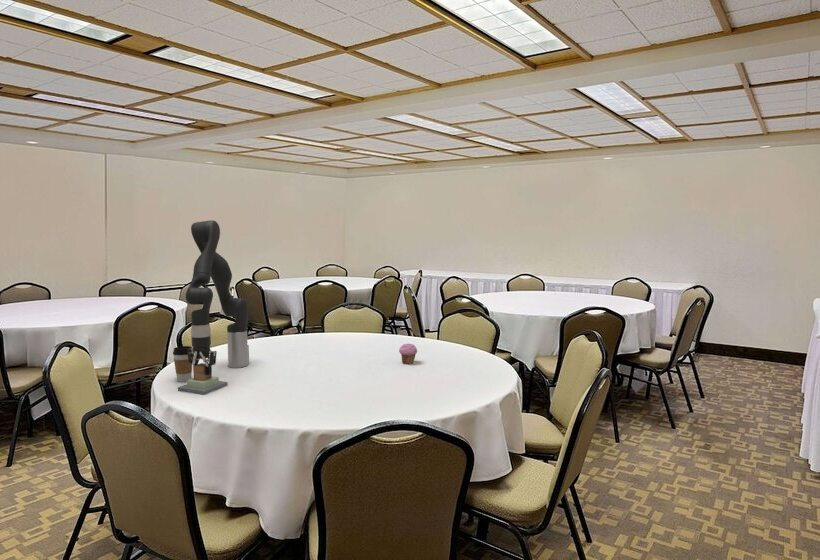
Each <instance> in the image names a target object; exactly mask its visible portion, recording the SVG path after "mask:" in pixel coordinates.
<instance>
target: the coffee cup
mask: <svg viewBox="0 0 820 560" xmlns="http://www.w3.org/2000/svg"><path fill="white" fill-rule="evenodd" d="M191 348H193V347H192V346H190V345H189V346H188V345H183V346H177V347H174V348H173V351H172V355H173V361H174V369H175V376H176V382H178V383H187V380H190V379H192V378H193V376H192V373H193V365H192V363H189V360H188V354H187V350H188V349H191ZM191 360H192V357H191Z"/></svg>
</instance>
